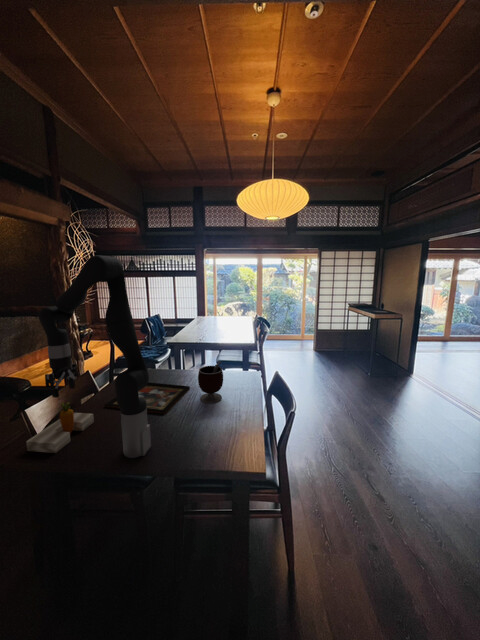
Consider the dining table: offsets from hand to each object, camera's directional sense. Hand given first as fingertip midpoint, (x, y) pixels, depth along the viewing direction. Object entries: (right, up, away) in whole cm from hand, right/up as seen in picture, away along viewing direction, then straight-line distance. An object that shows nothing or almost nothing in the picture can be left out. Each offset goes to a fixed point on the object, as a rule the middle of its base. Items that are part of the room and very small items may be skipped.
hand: (64, 392), depth 106 cm
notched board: (-3, -19, +3) cm, 20 cm away
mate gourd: (+57, -14, +38) cm, 70 cm away
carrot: (0, -19, +3) cm, 20 cm away
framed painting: (+22, -15, +39) cm, 47 cm away
